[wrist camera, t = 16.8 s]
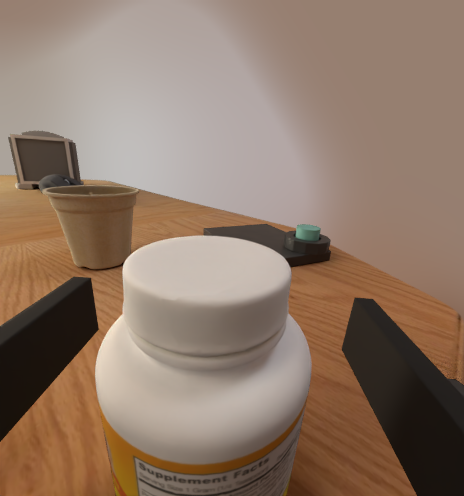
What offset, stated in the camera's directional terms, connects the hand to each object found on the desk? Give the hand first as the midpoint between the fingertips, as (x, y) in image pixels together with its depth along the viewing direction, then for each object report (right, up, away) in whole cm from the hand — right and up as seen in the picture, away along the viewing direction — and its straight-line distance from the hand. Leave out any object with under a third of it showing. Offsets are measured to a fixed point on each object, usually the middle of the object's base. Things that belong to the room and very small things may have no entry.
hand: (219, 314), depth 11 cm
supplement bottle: (0, -7, -2) cm, 7 cm away
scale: (+5, +3, +28) cm, 28 cm away
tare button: (+11, +4, +24) cm, 27 cm away
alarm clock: (-65, +25, +79) cm, 105 cm away
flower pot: (-15, +1, +20) cm, 25 cm away
